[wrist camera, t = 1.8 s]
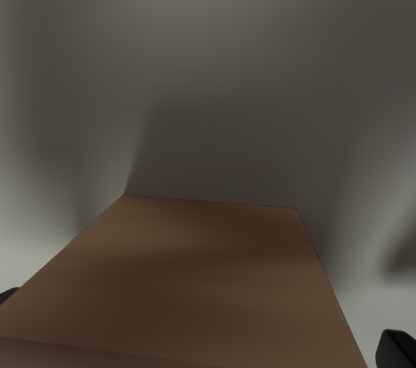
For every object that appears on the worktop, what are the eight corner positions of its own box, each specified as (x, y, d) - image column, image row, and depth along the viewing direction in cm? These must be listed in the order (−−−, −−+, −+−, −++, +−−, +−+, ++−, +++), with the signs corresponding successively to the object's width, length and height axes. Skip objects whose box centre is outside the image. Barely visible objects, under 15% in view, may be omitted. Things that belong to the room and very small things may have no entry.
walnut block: (295, 207, 8) (376, 387, 3) (275, 341, 9) (308, 591, 5) (124, 194, 8) (-30, 332, 4) (133, 324, 10) (36, 535, 5)
